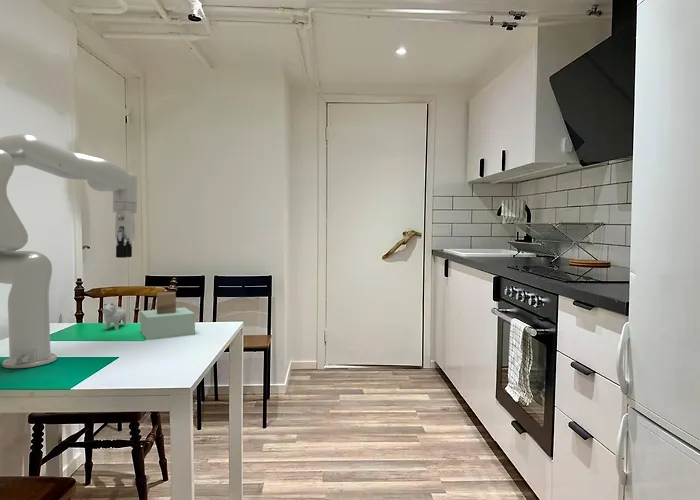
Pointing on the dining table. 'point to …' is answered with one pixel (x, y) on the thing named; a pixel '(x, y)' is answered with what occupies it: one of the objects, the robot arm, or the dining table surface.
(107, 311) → the white dog figurine
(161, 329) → the sage box
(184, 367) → the dining table surface
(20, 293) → the robot arm
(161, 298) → the walnut block
